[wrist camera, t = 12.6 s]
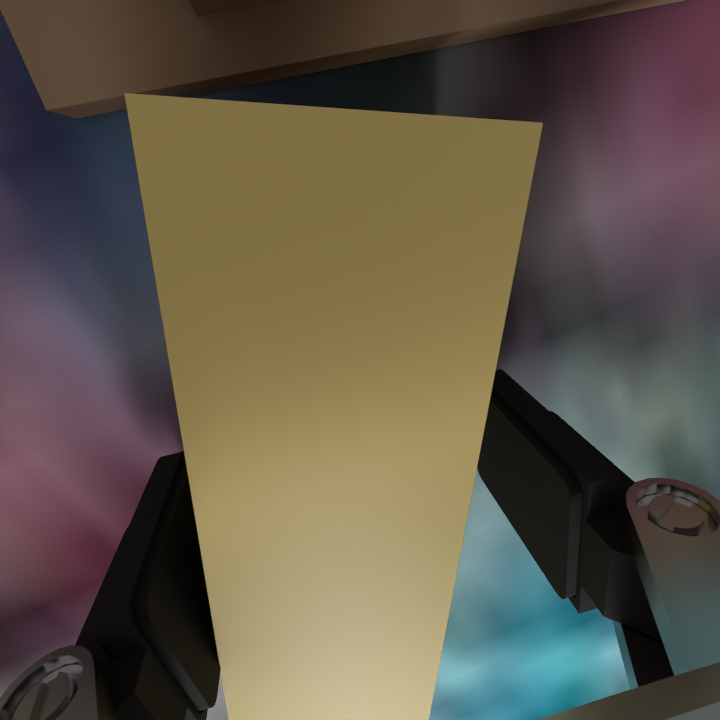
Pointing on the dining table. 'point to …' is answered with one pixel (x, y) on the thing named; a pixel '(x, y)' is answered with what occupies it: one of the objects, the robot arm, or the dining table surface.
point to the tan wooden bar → (330, 377)
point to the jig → (247, 40)
